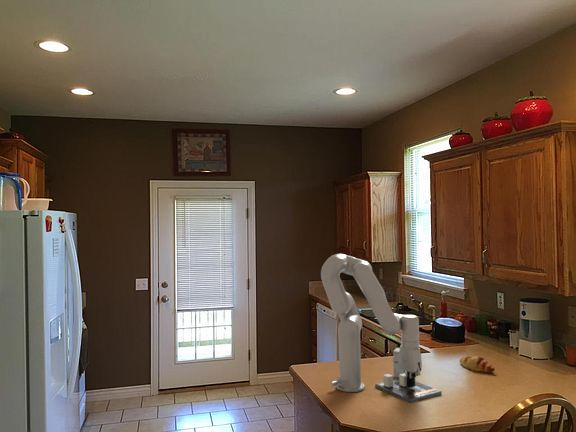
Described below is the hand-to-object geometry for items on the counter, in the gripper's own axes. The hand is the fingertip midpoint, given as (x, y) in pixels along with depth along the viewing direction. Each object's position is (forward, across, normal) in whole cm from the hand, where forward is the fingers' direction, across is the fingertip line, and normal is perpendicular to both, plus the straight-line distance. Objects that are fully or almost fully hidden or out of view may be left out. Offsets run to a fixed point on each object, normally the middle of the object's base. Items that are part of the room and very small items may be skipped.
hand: (410, 386), depth 206 cm
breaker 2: (+1, -4, 0) cm, 4 cm away
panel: (+3, -2, 0) cm, 3 cm away
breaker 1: (+1, -7, -6) cm, 10 cm away
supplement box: (+3, -18, +12) cm, 22 cm away
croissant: (+3, -9, +52) cm, 53 cm away
